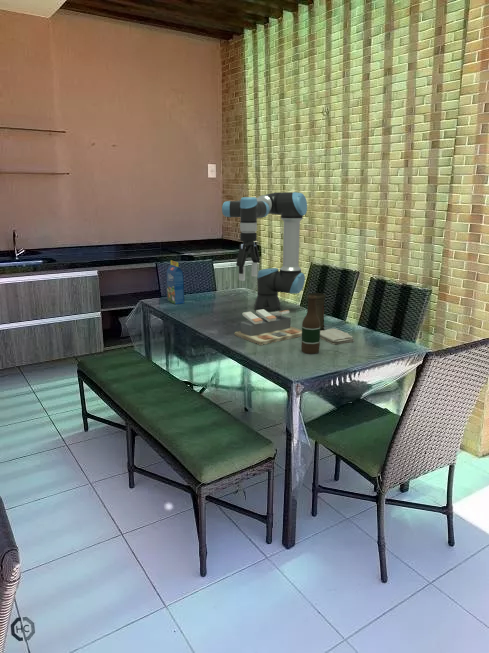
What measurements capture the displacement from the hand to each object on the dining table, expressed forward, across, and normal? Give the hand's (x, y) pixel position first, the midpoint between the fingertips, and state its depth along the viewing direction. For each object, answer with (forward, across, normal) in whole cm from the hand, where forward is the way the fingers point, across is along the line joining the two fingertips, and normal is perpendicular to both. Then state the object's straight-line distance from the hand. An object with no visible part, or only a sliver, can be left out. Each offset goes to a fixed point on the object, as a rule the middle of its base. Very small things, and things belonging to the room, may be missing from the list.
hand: (248, 278), depth 232 cm
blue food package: (+26, -42, -69) cm, 85 cm away
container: (+26, -17, +28) cm, 42 cm away
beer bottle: (+27, +14, +36) cm, 47 cm away
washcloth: (+27, -9, +39) cm, 48 cm away
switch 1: (+19, +4, +4) cm, 20 cm away
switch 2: (+19, -10, +12) cm, 25 cm away
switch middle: (+19, -3, +7) cm, 21 cm away
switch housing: (+25, -3, +8) cm, 26 cm away
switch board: (+26, -1, +11) cm, 29 cm away
